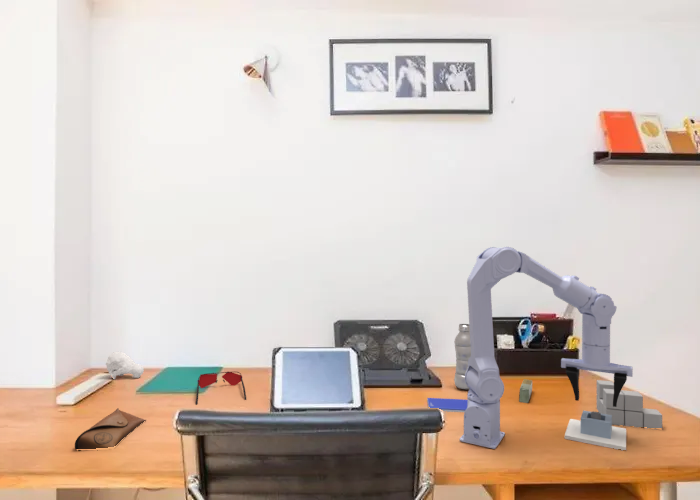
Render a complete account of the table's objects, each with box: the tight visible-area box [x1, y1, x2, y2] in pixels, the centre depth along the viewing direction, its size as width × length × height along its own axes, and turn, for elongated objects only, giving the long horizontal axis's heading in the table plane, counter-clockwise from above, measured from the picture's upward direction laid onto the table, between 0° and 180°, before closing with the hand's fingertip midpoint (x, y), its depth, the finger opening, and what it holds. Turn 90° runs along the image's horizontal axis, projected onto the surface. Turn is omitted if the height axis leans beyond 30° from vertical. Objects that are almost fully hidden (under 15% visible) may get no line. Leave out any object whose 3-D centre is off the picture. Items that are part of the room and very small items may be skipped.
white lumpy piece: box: [105, 351, 145, 380], centre depth 152 cm, size 6×8×12 cm
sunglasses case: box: [74, 407, 147, 450], centre depth 105 cm, size 18×7×7 cm
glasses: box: [195, 371, 247, 405], centre depth 135 cm, size 14×16×5 cm
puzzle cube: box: [596, 379, 663, 429], centre depth 115 cm, size 12×12×8 cm
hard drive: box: [426, 397, 467, 413], centre depth 124 cm, size 2×8×12 cm
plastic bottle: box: [453, 323, 471, 390], centre depth 140 cm, size 6×7×20 cm
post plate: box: [564, 410, 627, 451], centre depth 104 cm, size 12×12×5 cm
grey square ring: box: [580, 409, 613, 439], centre depth 105 cm, size 6×6×4 cm
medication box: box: [518, 378, 533, 404], centre depth 133 cm, size 12×3×4 cm, turn 154°
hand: (595, 402), depth 104 cm, fingers open, 7 cm apart
